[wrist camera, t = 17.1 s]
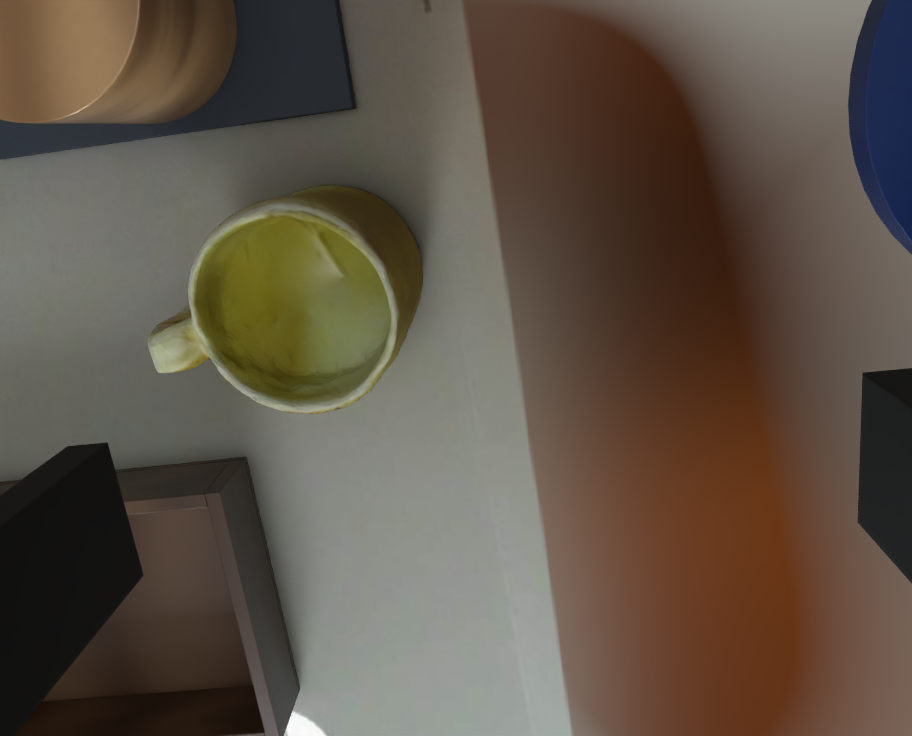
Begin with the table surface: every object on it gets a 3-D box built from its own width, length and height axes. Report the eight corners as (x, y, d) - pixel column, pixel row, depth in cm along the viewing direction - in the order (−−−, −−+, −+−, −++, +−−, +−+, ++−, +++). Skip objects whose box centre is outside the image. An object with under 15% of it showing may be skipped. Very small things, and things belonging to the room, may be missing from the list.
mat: (317, -130, 34) (312, -137, 33) (356, 108, 37) (352, 108, 36) (-63, -64, 36) (-79, -69, 35) (2, 159, 38) (-10, 160, 38)
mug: (423, 127, 35) (357, 226, 27) (461, 316, 41) (416, 443, 33) (187, 153, 38) (69, 248, 31) (254, 325, 44) (169, 442, 36)
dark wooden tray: (246, 456, 43) (219, 492, 39) (300, 689, 47) (281, 743, 43) (-83, 490, 44) (-142, 528, 40) (0, 712, 49) (-46, 765, 45)
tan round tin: (212, -107, 34) (99, -199, 24) (255, 109, 36) (168, 104, 27) (18, -74, 34) (-167, -150, 25) (74, 135, 37) (-74, 139, 27)
